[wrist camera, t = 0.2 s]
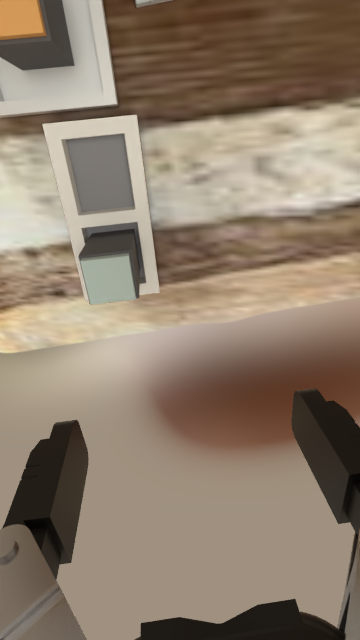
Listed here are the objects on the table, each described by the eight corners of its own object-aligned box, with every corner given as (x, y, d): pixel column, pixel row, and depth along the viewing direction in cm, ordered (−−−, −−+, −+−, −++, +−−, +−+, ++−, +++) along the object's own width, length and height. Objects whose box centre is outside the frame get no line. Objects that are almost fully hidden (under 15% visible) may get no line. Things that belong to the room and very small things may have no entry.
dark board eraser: (91, 233, 36) (76, 258, 28) (134, 228, 36) (130, 252, 28) (100, 273, 38) (88, 307, 30) (140, 268, 38) (138, 301, 30)
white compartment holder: (50, 125, 32) (42, 124, 29) (137, 116, 32) (136, 114, 30) (89, 291, 40) (85, 301, 37) (158, 282, 40) (159, 292, 38)
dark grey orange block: (5, 2, 27) (-53, -56, 19) (61, -3, 27) (27, -63, 20) (22, 70, 29) (-23, 43, 21) (74, 65, 30) (48, 37, 22)
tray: (-49, -47, 26) (-63, -62, 24) (94, -58, 27) (90, -74, 25) (0, 118, 31) (-9, 116, 29) (118, 106, 32) (117, 103, 30)
